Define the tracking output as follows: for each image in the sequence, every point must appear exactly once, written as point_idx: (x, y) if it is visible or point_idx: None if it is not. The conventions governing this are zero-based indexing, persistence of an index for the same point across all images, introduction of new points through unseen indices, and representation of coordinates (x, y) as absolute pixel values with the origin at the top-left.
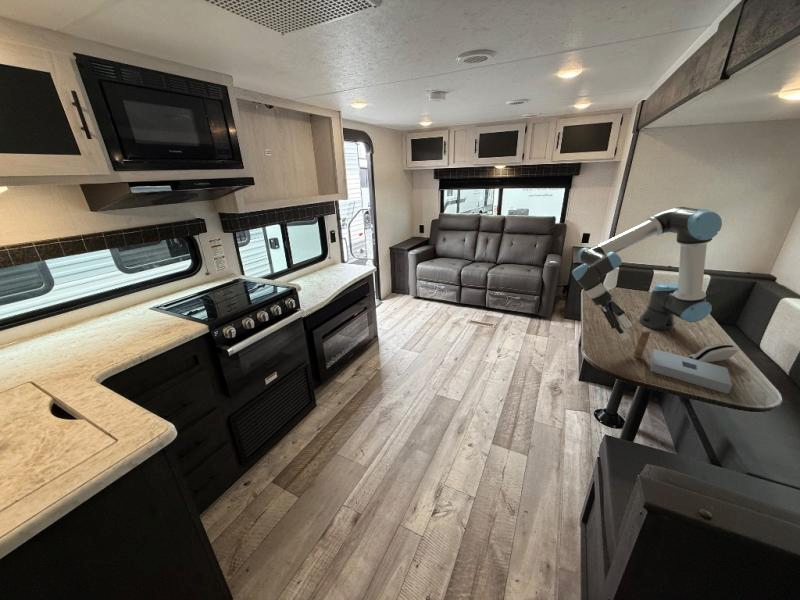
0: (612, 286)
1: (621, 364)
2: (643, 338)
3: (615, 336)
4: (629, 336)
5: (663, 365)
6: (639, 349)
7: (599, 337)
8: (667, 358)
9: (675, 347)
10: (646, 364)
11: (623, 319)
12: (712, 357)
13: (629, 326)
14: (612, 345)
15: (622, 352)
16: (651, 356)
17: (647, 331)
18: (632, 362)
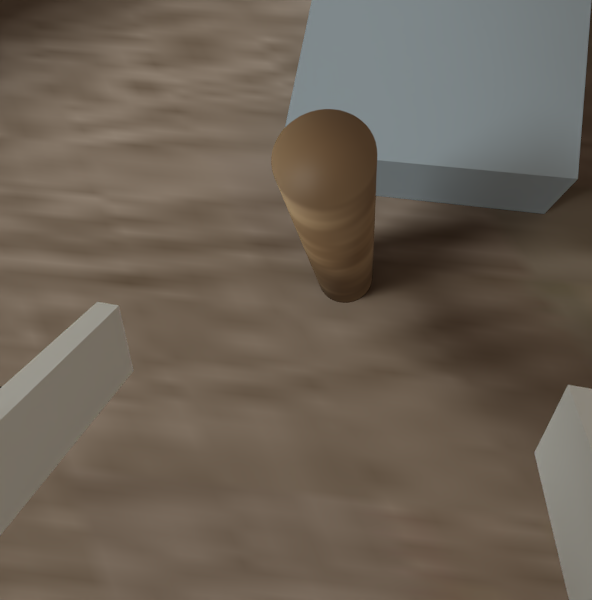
0: None
1: None
2: (374, 208)
3: None
4: (586, 399)
5: (571, 111)
6: (371, 260)
7: (120, 544)
8: (413, 76)
9: (89, 43)
10: (445, 228)
11: (30, 444)
12: None
13: (120, 340)
14: (233, 446)
15: (328, 378)
16: None
17: (306, 138)
18: (470, 321)
